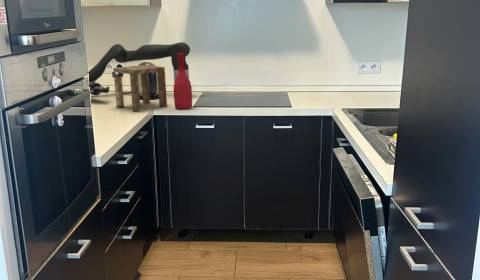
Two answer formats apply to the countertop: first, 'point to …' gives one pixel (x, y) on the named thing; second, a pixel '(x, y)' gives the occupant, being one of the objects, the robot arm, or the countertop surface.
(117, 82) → the oak leg
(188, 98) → the red bottle
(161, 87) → the walnut stool
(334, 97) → the countertop surface
